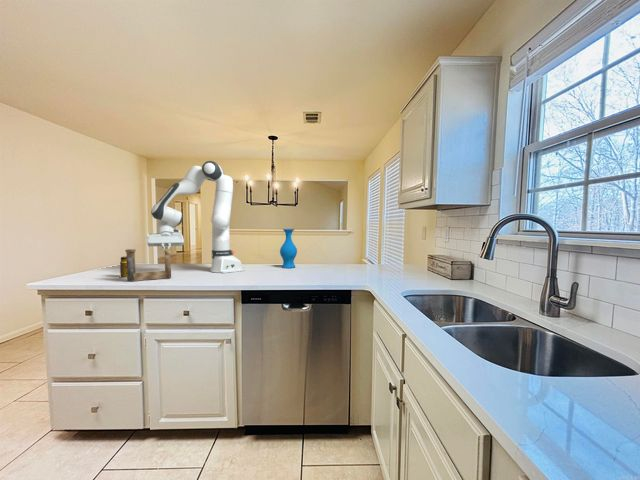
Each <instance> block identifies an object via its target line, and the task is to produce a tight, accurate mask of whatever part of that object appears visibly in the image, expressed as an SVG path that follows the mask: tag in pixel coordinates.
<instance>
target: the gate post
mask: <svg viewBox="0 0 640 480" xmlns="http://www.w3.org/2000/svg"><path fill="white" fill-rule="evenodd" d="M125 253H126V256H127V278H126V280H127V282H130V281H129V279H128V257H133V272H134V273H136V248H133V249H125Z"/></svg>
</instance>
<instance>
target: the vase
mask: <svg viewBox="0 0 640 480" xmlns="http://www.w3.org/2000/svg"><path fill="white" fill-rule="evenodd" d="M294 230H295V229H294V228H283V229H282V231H283V232H284V233H285V240H284V243H283V244H282V245H281V246H280V249H279V254H280V257H281V259H282V261H283V264H282V265H281V267H282V268H284V269H291V268H292V269H294V268H295V267H296V265H295V262H294V261H295V258H296V257H297V254H298V248H297V247H296V245H295V244H294V242H293V240H292V234H293V232H294Z"/></svg>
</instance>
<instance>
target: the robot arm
mask: <svg viewBox="0 0 640 480" xmlns="http://www.w3.org/2000/svg"><path fill="white" fill-rule="evenodd" d="M204 181H211V182H215V192H214V201H213V206H212V214H211V225H212V226H211V227H212V232H211V233H212V235H211V237H212V239H211V240H212V241H211V246H212V250H211V266H210V270H209V271H210V272H211V273H221V274H226V273H227V274H228V273H235V272H243V271H244V272H245V271H246V268H245V267H244V266H243V265H242V261H241V260H240V259H239V258H238V257H236V256H234V254H235V252H236V251H235V250H231V246H230V245H231V243H230V242H231V241H230V240H231V239H230V220H231V211H232V204H233V197H234V196H233V195H234V194H233V193H234V180H233V178H232V177H231V176H230V175H225V172H224V169H223V168H222V167H221V166H220V164H218V163H217V162H215V161H214V160H213V161H212V160H208V161H207V160H206V161H205V162H204V163H203V164H202V166H199V165H193V166H191V168H190V169H189V170H188V171H187V173H186V174H185V176H184V178H183V179H182V180H181V181H180V182H175V183H174V184H172V185H171V187H170V188H169V189H168V190H167V191H166V192H165V193H164V195H163V196H162V197H161V198H160V199H159V200H158V202H156V203H155V204H154V205H153V207H151V210H150V213H151V215H152V217H153V219H156V220H157V233H149V234H147V235H146V239H147V246H148V247H161V248H162V249H163V251H165V250H166V249H170V250H171V248H172V247H175V246H176V247H178V246H184V244H185V240H184V236H183V234H182V231H181V230H180V229H176V227H178V226H179V225H181V224H182V223H183V220H184V215H183V212H181V211H179V210H178V209H175V208H172V207H170V206H168V204H169V203H170V202H171V201H172V200H173V199H174V197H176V196H177V195H187V196H188V195H189V196H190V195H195V194H197V193H198V191H199V190H200V189H201V187H202V185H203V183H204Z"/></svg>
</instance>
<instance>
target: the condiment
mask: <svg viewBox="0 0 640 480" xmlns="http://www.w3.org/2000/svg"><path fill="white" fill-rule="evenodd" d="M119 266H120V267H119V268H120V273H119V274H120V276H121V277H127V255H125V256H121V257H120V262H119ZM117 276H118V275H116V277H117ZM116 277H115V278H116Z"/></svg>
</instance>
